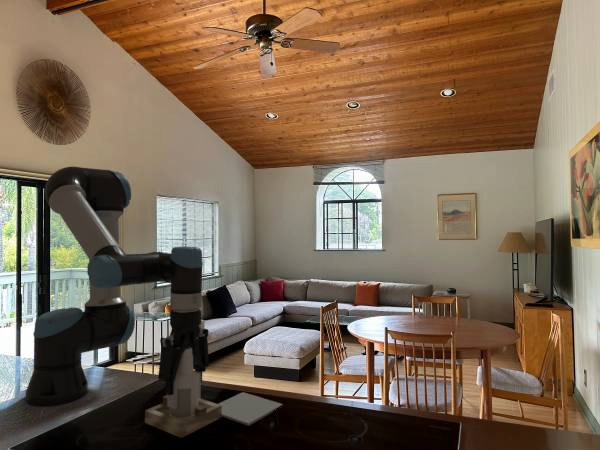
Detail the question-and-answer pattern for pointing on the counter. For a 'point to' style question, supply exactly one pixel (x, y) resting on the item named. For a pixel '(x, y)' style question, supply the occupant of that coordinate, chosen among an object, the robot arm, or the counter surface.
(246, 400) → the mat
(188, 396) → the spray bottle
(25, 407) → the counter surface
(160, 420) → the wooden square frame
